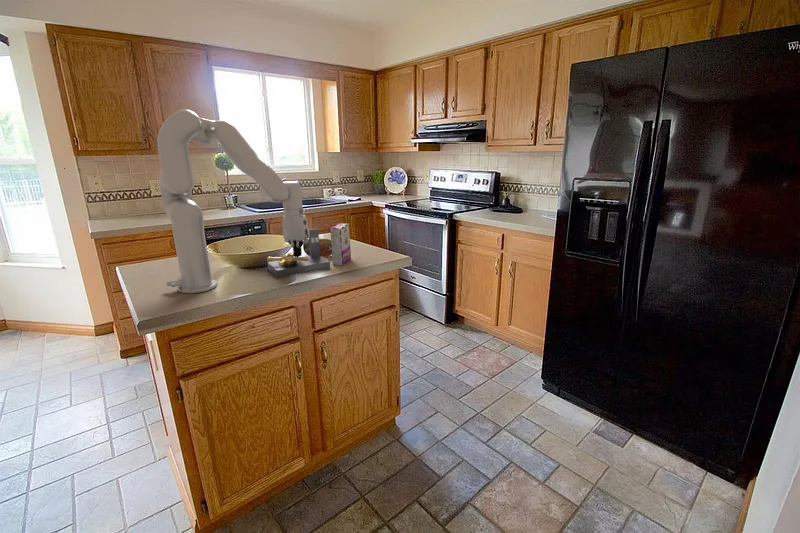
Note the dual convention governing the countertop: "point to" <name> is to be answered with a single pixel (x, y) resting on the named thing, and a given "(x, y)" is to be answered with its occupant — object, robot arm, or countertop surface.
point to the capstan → (287, 259)
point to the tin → (324, 247)
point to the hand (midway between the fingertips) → (297, 256)
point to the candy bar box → (340, 244)
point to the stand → (311, 265)
